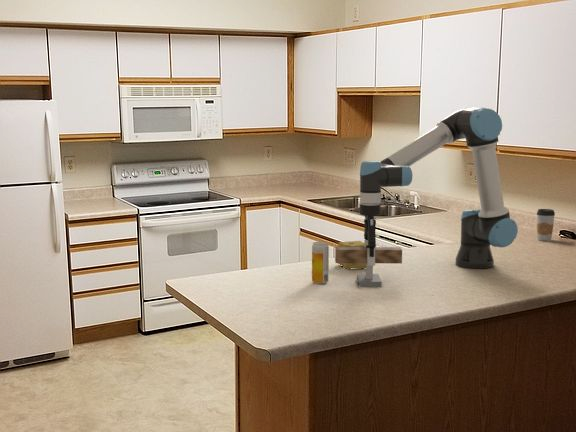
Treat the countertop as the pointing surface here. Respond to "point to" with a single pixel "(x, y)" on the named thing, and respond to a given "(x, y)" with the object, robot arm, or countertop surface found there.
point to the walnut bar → (361, 255)
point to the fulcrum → (369, 278)
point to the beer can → (320, 262)
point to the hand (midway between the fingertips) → (369, 261)
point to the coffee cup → (545, 224)
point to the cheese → (352, 244)
